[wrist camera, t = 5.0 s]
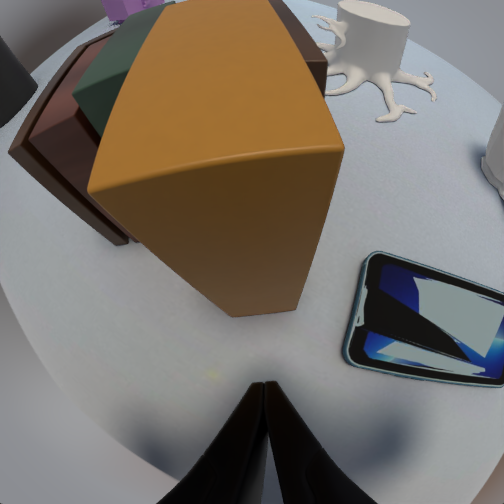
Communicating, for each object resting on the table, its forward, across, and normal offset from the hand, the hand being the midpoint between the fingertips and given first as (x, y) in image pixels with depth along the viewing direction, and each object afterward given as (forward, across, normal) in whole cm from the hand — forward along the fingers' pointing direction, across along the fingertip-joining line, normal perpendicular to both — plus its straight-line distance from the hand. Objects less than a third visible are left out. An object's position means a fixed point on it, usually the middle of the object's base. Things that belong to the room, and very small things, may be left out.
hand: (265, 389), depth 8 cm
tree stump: (+26, +15, +16) cm, 34 cm away
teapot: (+59, -24, +48) cm, 79 cm away
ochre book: (+11, 0, +1) cm, 11 cm away
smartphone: (+6, +12, -5) cm, 14 cm away
